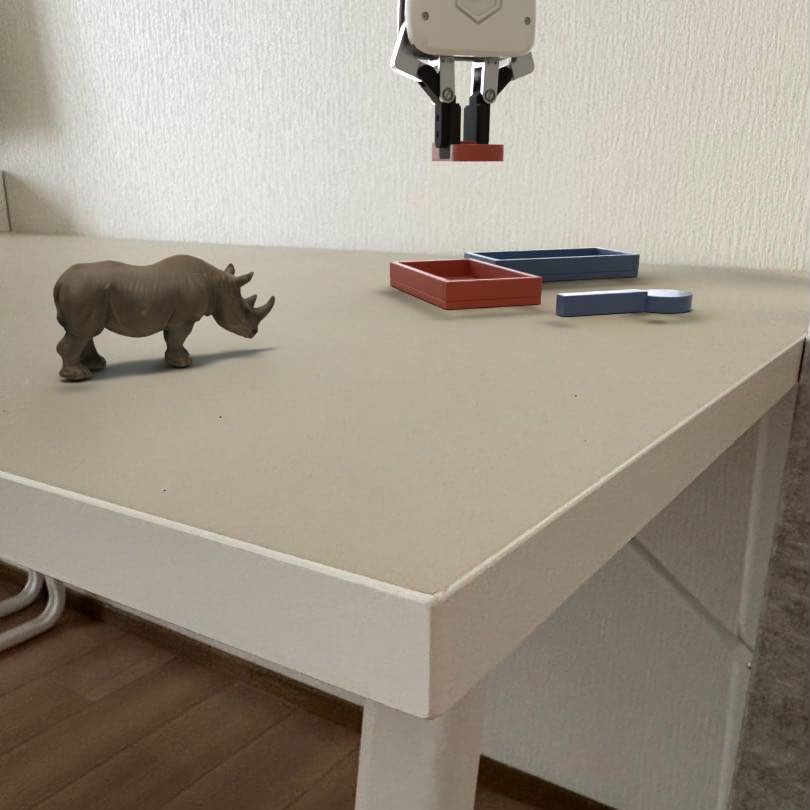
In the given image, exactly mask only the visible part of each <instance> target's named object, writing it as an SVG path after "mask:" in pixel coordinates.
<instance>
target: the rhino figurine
mask: <svg viewBox="0 0 810 810" xmlns="http://www.w3.org/2000/svg"><path fill="white" fill-rule="evenodd" d="M235 273H236V268H235V265H234V264H233V263H232V262H231V263H230V262H229V264H227V265H226V267H225V269H224V270H223V269H220V268H218V267H216V266H214V264H212V263H209V262H207V261H205V260H203V259H202V258H199V257H197V256H194V255H190V254H175V255H171V256H168V257H166V258H163V259H161V260H160V261H157V262H154V263H152V264H147V265H136V264H130V263H125V262H122V261H118V260H110V259H108V260H107V259H106V260H100V261H94V262H79V263H74V264H72V265H71V266H70V267H68V268H67V269H66V270H65V271H63V272H62V274H60V276H59V277H58V279H57V280H56V282H55V284H54V285H53V291H52V297H53V303H54V306H55V309H56V321H57V322H58V324H59V325H60V326H61V327H62V328H63V330H64V331H65V333H64V335H63V337H62V338H61V339H60V340H59V341H58V343H57V344H56V348H55V349H56V353H57V354H58V355H59V356H60V358H61V361H62V366H61V369H60V370H59V372H58V376H59V377H60V378H62V379H66V380H76V381H77V380H81V379H86V378H92V375H93V373H92V371H90V370H94V369H99V368H105V367H106V366H107V360H106V358H105V357H104V356H102V355H101V354H99V351H98V350H97V347H96V345H95V342H94V341H95V340H94V338H95V337H98V336H99V335H101V334H102V333H103V331H104V330H105V329H106V330H107V331H109V332H112V333H114V334H117V335H120V336H123V337H127V338H135V339H136V338H137V339H139V338H141V339H142V338H146V337H151V336H153V335H155V334H158V333H160V332H162V336H163V341H164V343H165V345H166V349H165V351H164V361H165V362H166V363H168V364H170V365H172V366H175V367H180V368H181V367H186V366H191V365H192V364H193V363H194V360H193V358H192V357H191V356H190V352H189V351H188V349H187V348H186V347H185V346H184V344H185V341H186V340H187V338H188V337H189V336H190V334H191V333H192V331H193V328H194V326H195V324H196V323H198V322H200V321H201V319H202V318H203V317H210V316H211V317H212V318H213V320H214V321H215V322H216V324H217V325H218V326H219V327H221V328H222V329H223V330H225V331H227V332H229V333H232V334H234V335H236V336H239V337H243V338H245V339H249V340H251V339H253V338H254V337H255V336H256V335H257V333H258V332H259V325H260V323H261V322H262V321H263V320H264V319H265V318H266V317H267V316H268V315H269V314H270V312H272V309H273V308H274V305H275V302H276V297H275V295H271V296H270V298H269V300H268V301H267V302H266V303H265V304H263V305H260V306H258V307H255V304H256V301H257V299H258V294H256V293H255V294H253V295H250V296H248V297H245V298H244V297H243V295H242V290H241V289H242V287H244V286H245V285H247V284H248V283H250V282H251V281H252V278H253V276H254V274H255V272H254V271H250V272H248V273H246V274H241V275H239V276H236V275H235Z"/></svg>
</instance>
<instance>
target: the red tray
mask: <svg viewBox="0 0 810 810" xmlns="http://www.w3.org/2000/svg"><path fill="white" fill-rule="evenodd" d="M389 285H390V286H392V287H394V288H395V289H398V290H400V291H402V292H405V293H408V294H410V295H412V296H414V297H416V298H419V299H421V300H423V301H426V302H427V303H430V304H433V305H435V306H437V307H440V308H442V309H444V310H458V309H459V310H463V309H464V310H465V309H479V308H495V307H515V306H530V305H532V306H533V305H541V304H542V293H543V292H542V290H543V282H542V277H539V276H535V275H532V274H528V273H524V272H520V271H517V270H513V269H509V268H506V267H502V266H498V265H494V264H491V263H487V262H483V261H479V260H476V259H472V258H470V259H464V258H451V259H450V258H449V259H448V258H447V259H427V260H425V259H423V260H422V259H421V260H405V261H404V260H401V261H399V260H398V261H390V262H389Z"/></svg>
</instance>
